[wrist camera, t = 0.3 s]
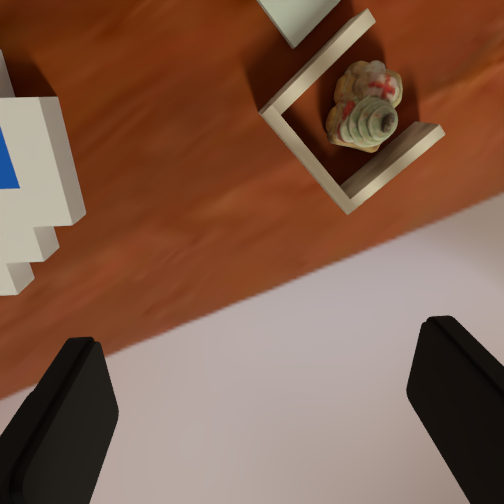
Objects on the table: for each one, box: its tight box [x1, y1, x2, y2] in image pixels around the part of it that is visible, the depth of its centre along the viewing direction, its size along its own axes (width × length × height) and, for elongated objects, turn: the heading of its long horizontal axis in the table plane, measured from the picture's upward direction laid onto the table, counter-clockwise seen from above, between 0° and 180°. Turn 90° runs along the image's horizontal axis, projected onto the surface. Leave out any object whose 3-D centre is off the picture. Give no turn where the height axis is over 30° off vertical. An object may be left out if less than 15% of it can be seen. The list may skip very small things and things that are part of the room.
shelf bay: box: [258, 9, 445, 215], centre depth 33 cm, size 12×13×4 cm
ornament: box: [325, 60, 403, 153], centre depth 30 cm, size 8×6×10 cm
